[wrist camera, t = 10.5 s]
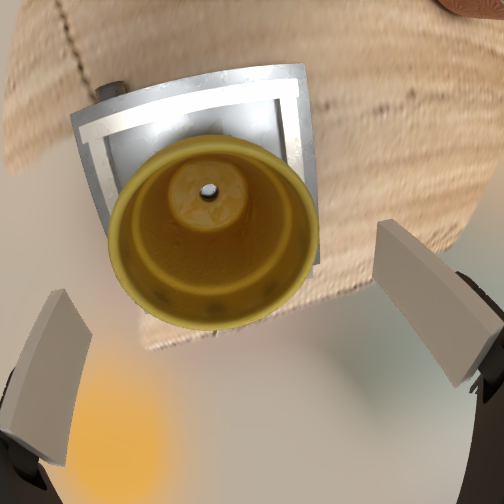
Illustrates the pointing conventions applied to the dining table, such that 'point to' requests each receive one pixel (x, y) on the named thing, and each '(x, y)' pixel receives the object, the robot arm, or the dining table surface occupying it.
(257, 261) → the plant pot
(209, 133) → the grey square tray
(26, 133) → the dining table surface
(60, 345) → the robot arm
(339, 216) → the dining table surface
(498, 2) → the planter
